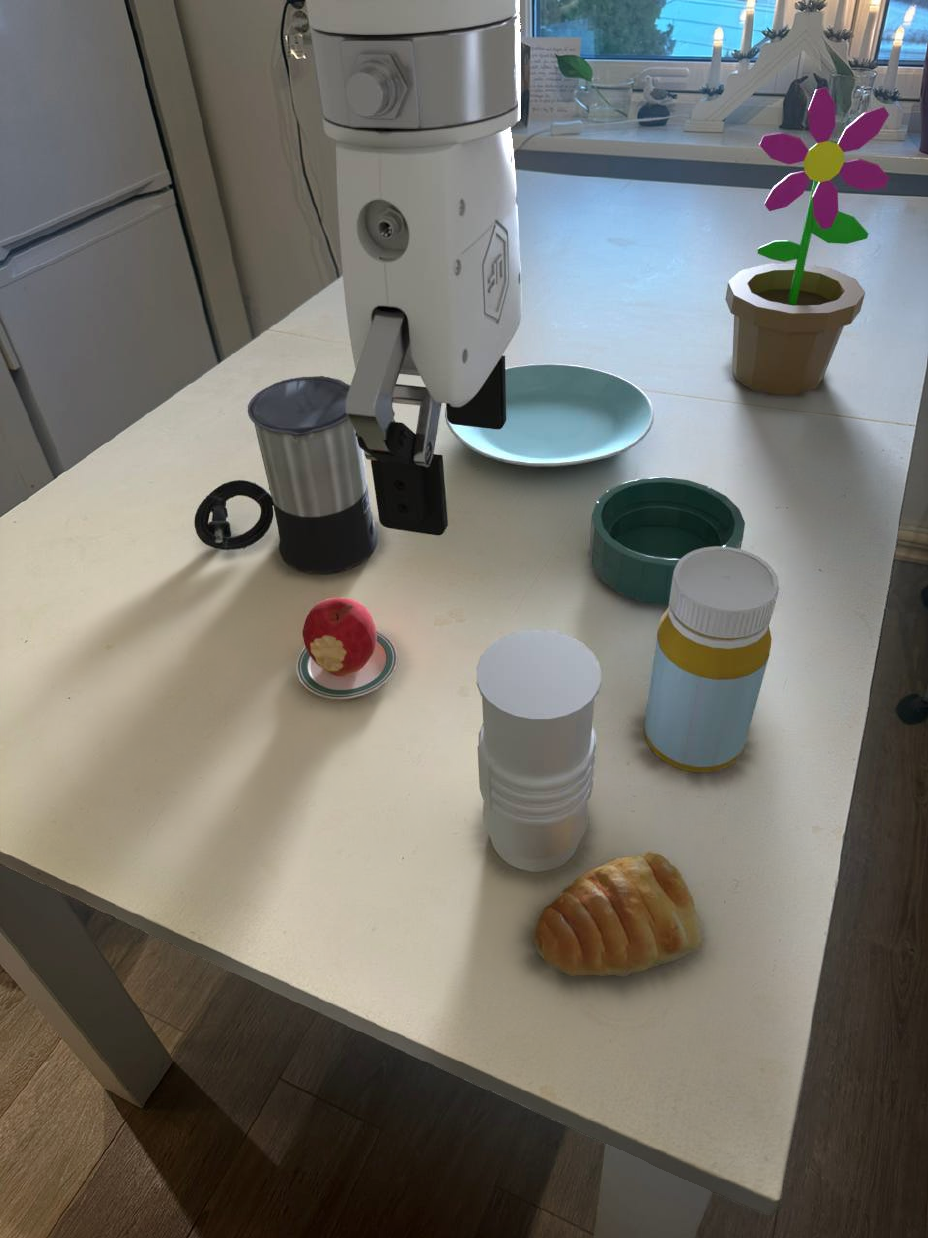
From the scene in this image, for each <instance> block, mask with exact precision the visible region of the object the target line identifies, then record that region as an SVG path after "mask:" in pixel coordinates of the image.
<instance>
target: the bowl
mask: <svg viewBox="0 0 928 1238" xmlns="http://www.w3.org/2000/svg"><path fill="white" fill-rule="evenodd" d="M590 516H591V517H590V528H589V529H590V532H589V545H588V555H589V556H588V557H589V560H590V566H591V568H592V570H593V571H594V572H595V574H596V576H597V577H598V578H599V580H600V581H601V582H603V584H606V585H607V586H608V587H610V588H611V589H612V590H614V591H615V592H617V593H619V594H621V595H624V596H626V597H629V598H631V599H634V600H636V601H639V602H643V603H648V604H653V605H661V606H669V600H670V592H671V585H672V579H673V572H674V569H675V568H676V565H677V563H678V562H679V560H680V559H681V558H682V557H684V556H685V555H686V554H688V553H690V552H692V551H694V550H697V549H701V548H705V547H715V546H721V547H731V548H737V549H741V550H742V544H743V539H744V535H745V526H746V521H745V519H744V517H743V515H742V512H741V509H740V508H739V507H738V506H737V505H736V504H735V503H734V502H733V501H732V500H731V499H730V498H729V497H728V496H727V495H725V494H723V493H721V492H719V491H717V490H716V489H714V488H712V487H710V486H708V485H706V484H703V483H702V484H701V483H699V482H696V481H694V480H693V481H692V480H689V479H683V478H675V477H668V476H660V477H659V476H657V477H642V478H637V479H634V480H629V481H625V482H622V483H620V484H618V485H616V486H614V487H612V488H610V489H608V490H606V491H605V492H604V493H603V494H602V495H601V496H600V497H599V498H598V499H597V500H596V502H595V503H594V506H593V509H592V512H591V515H590Z"/></svg>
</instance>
